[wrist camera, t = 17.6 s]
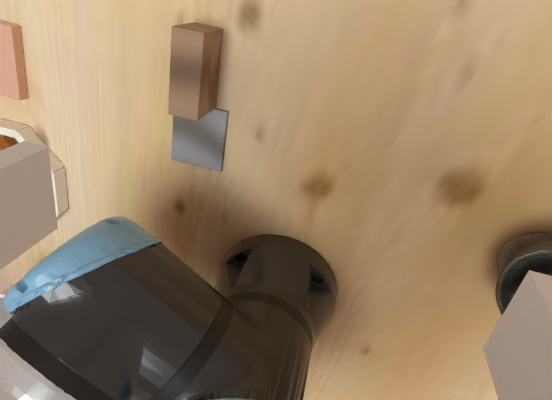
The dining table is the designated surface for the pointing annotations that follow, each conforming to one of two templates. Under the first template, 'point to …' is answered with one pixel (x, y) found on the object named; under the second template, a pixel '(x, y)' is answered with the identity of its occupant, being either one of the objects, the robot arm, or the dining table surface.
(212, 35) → the tall brown block
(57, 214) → the dish rim
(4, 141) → the pastry
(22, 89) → the tile
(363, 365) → the dining table surface
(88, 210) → the dining table surface
